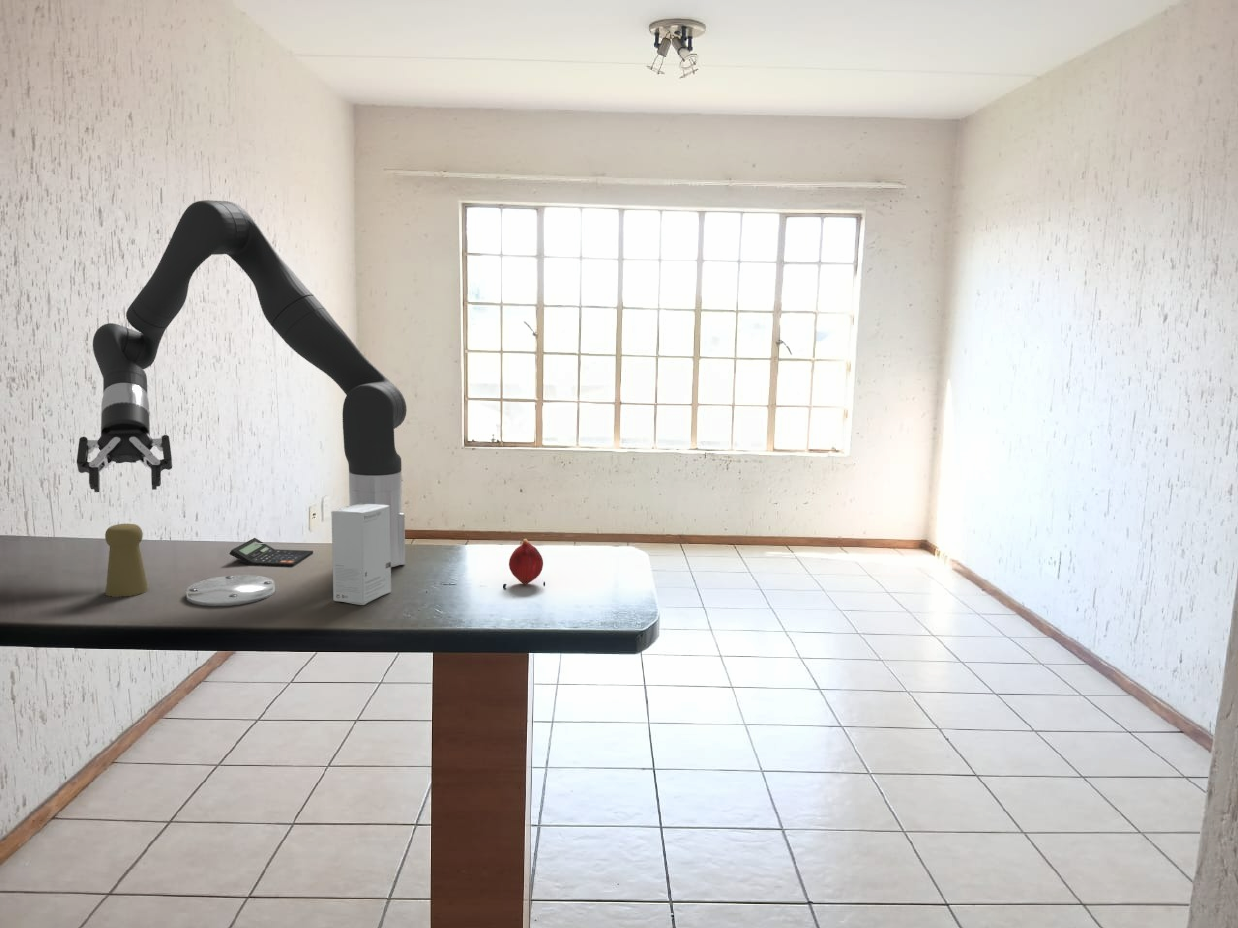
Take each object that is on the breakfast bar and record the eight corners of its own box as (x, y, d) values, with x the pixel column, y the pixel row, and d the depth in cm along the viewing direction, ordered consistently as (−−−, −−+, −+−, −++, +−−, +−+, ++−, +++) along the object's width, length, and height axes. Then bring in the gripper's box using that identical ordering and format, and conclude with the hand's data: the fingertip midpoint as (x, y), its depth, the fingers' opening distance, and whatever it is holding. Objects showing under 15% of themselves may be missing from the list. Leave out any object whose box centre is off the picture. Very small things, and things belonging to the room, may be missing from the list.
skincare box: (363, 606, 136) (362, 513, 134) (330, 601, 138) (328, 509, 136) (393, 591, 144) (392, 503, 142) (361, 587, 146) (360, 500, 143)
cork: (129, 598, 136) (125, 530, 135) (96, 595, 137) (92, 527, 136) (157, 587, 142) (153, 522, 140) (125, 584, 143) (121, 519, 142)
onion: (548, 582, 152) (549, 538, 150) (531, 591, 147) (532, 545, 145) (520, 577, 154) (520, 533, 153) (502, 585, 149) (503, 540, 148)
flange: (270, 578, 149) (270, 571, 149) (278, 600, 138) (278, 592, 137) (186, 586, 143) (185, 579, 143) (187, 610, 132) (186, 601, 131)
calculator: (293, 568, 157) (292, 552, 156) (229, 566, 157) (229, 549, 157) (313, 555, 166) (312, 539, 166) (253, 552, 166) (252, 537, 166)
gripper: (76, 401, 150) (73, 477, 142) (169, 400, 156) (172, 473, 148) (81, 428, 155) (79, 503, 147) (171, 426, 162) (173, 498, 153)
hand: (125, 488), depth 147 cm, fingers open, 8 cm apart
